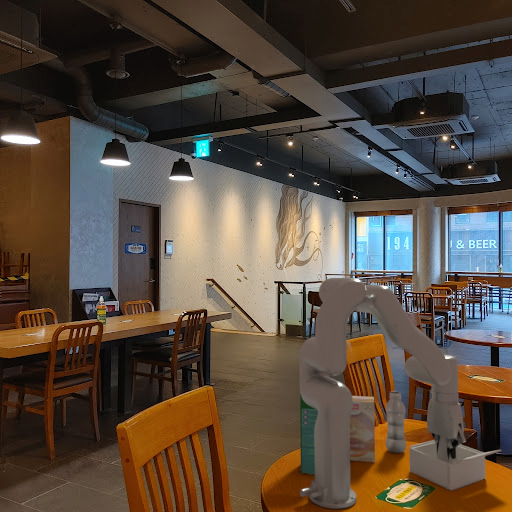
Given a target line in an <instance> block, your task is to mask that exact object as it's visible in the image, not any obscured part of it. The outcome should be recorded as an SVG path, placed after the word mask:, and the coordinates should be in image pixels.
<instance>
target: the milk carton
mask: <svg viewBox="0 0 512 512" xmlns="http://www.w3.org/2000/svg"><path fill="white" fill-rule="evenodd" d="M299 401H300V402H299V408H300V411H299V412H300V413H299V415H300V416H299V419H300V423H299V424H300V426H299V429H300V430H299V433H300V474H303V473H308V474H307V475H315V442H314V429H315V423H316V420H317V416H318V411H317V410H316V409H314V408H312V407H310V406H309V405H307V404H306V403H305V402H304V400H303V399H302V397H301V393H300V392H299Z"/></svg>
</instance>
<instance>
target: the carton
mask: <svg viewBox="0 0 512 512" xmlns="http://www.w3.org/2000/svg"><path fill="white" fill-rule="evenodd" d="M481 453H484V451H480V450H478V449H474V448H472V447H469V446H466V445H463V444H462V443H460V444H459V445H458V447H456V460H460V459H464V458H467V457H471V456H474V455H478V454H481ZM436 457H437V444H436V443H435V441H434V439H433V440H429V441H424V442H421V443H418V444H417V443H415V444H413V445H410V446H409V472H410V473H413V474H414V475H416V476H418V477H421V478H423V479H425V480H427V481H430V482H432V483H434V484H436V485H438V486H440V487H442V488H444V489H447V490H449V491H451V492H452V491H456V490H459V489H461V488H464V487H466V486H470V485H473V484H476V483H478V482H477V481H479V482H481V481H480V480H482V481H484V480H483V479H485V478H486V456H483V457H480V458H476V459H473V460H469V461H463V462H458V463H454V464H448V463H446V462H444V461H441V460H439V459H437V458H436ZM485 480H486V479H485ZM475 482H476V483H475ZM472 483H473V484H472Z"/></svg>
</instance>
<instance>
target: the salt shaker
mask: <svg viewBox="0 0 512 512" xmlns="http://www.w3.org/2000/svg"><path fill="white" fill-rule="evenodd" d="M452 442H453V440H452ZM447 448H448V438H446V437H443V436H440V437H439V446H438V452H437V457H436V458H437V459H439V460H441V461H444V462H446V463H448V464H454V463H453V462H454V461H457V460H456V458H455V459H452V458H451V454H450V456H449V460H448V455H447Z"/></svg>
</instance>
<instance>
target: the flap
mask: <svg viewBox="0 0 512 512" xmlns="http://www.w3.org/2000/svg"><path fill="white" fill-rule="evenodd" d="M500 452H502V449H496V450H492V451H487V452H483V453H481V454H478V455H474V456H471V457H467V458H464V459H460V460H457V461H454V462H453V463H458V462H463V461H469V460H473V459H476V458H480V457H483V456H485V457H487V456H490V455H494V454H495V453H500Z"/></svg>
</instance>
